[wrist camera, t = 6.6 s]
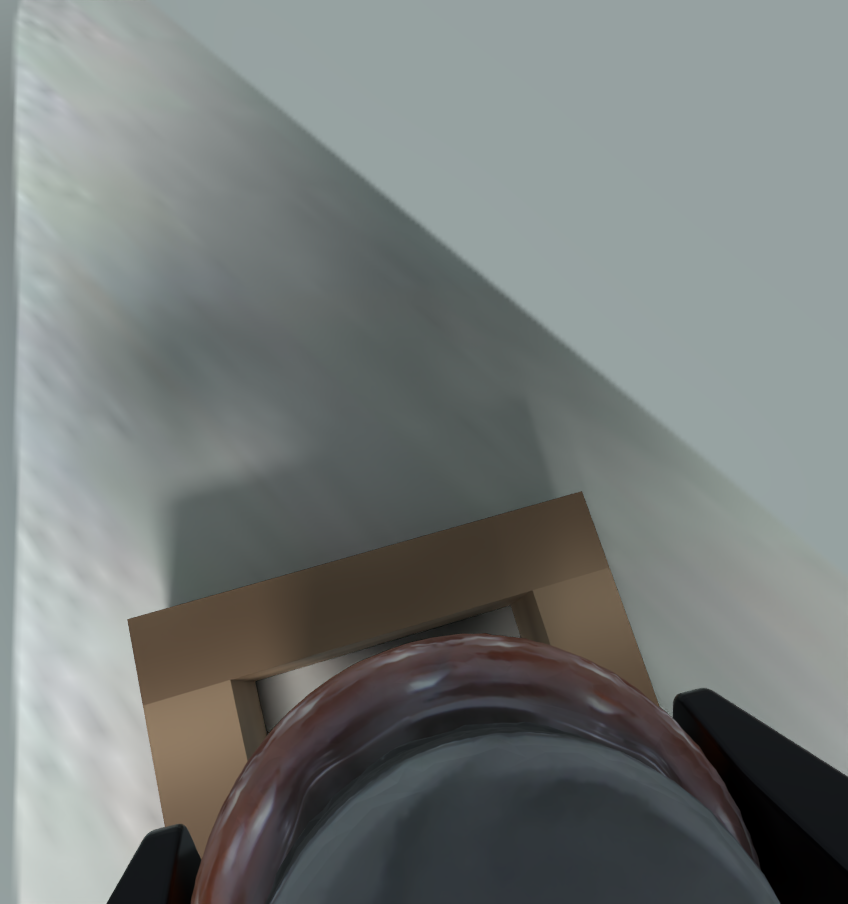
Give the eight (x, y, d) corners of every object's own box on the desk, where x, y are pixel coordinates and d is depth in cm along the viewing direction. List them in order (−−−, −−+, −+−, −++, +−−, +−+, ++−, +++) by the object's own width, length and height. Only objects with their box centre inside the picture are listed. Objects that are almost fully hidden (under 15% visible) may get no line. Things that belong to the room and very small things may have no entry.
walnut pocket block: (699, 941, 20) (762, 993, 16) (260, 1102, 18) (231, 1194, 15) (553, 520, 23) (582, 491, 19) (168, 630, 21) (127, 619, 18)
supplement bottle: (605, 957, 15) (1157, 1633, 4) (299, 1007, 15) (44, 1907, 4) (553, 645, 17) (849, 559, 6) (277, 680, 16) (58, 656, 6)
